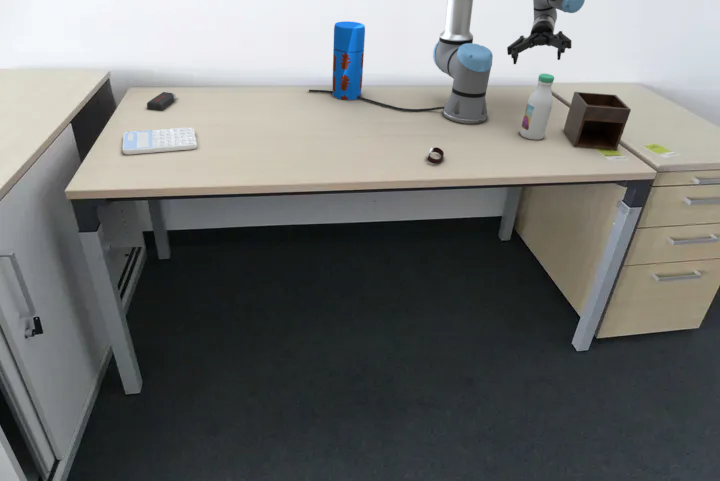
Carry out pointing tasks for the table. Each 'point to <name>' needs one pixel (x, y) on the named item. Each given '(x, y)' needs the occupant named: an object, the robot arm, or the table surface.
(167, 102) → the usb drive
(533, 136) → the milk bottle
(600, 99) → the shelf unit
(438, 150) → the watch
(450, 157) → the table surface
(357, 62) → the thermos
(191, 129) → the calculator
